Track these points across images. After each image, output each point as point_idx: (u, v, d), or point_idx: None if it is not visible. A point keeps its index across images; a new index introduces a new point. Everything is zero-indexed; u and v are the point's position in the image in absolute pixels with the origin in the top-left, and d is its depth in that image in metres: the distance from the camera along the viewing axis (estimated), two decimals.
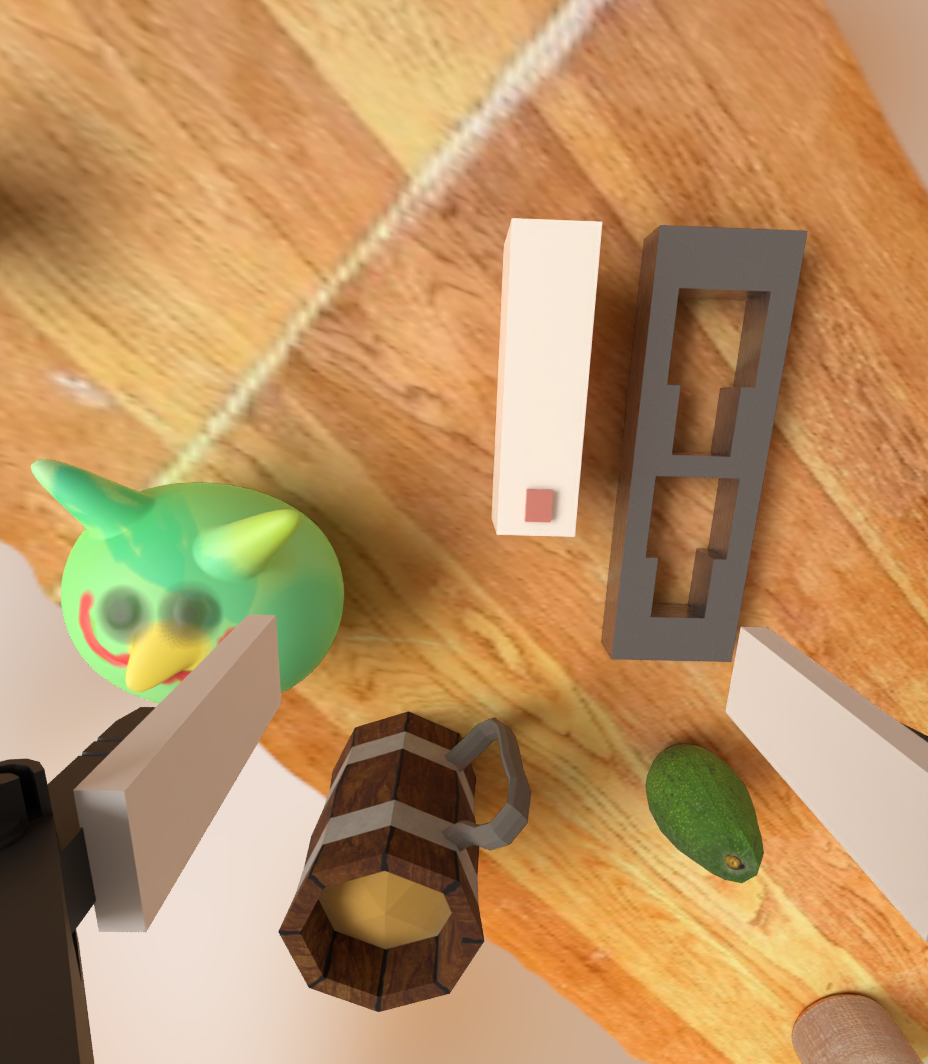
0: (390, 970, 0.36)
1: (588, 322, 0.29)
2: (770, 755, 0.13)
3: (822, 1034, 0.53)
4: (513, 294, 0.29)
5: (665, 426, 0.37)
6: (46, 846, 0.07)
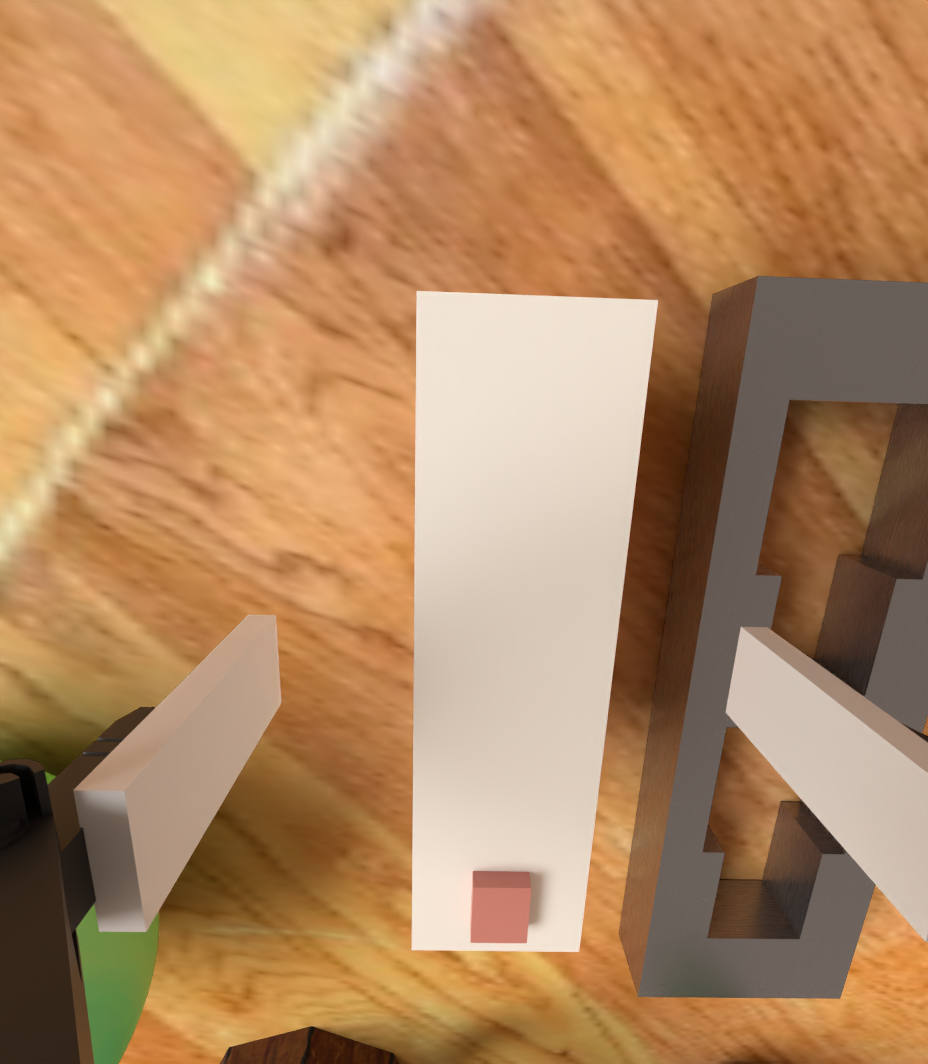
0: None
1: (616, 541, 0.12)
2: (770, 755, 0.13)
3: None
4: (428, 479, 0.11)
5: None
6: (46, 846, 0.07)
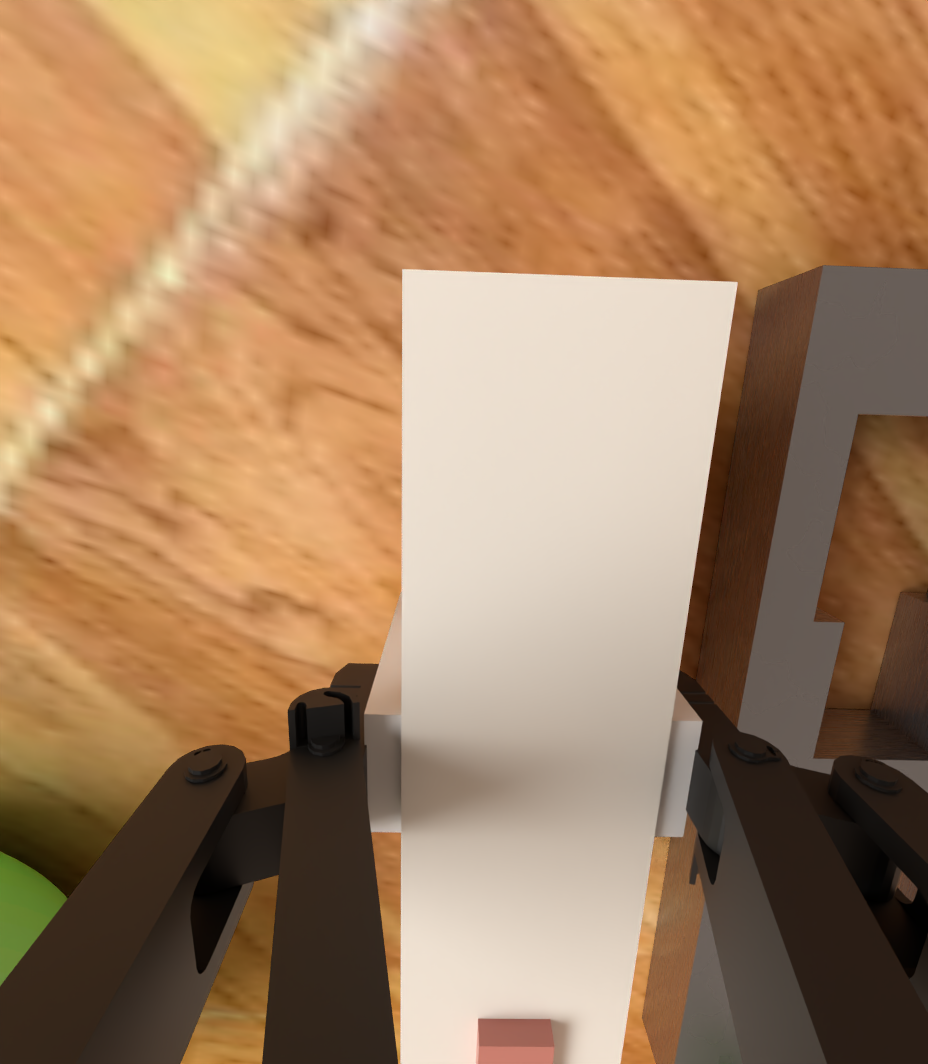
0: None
1: (672, 606, 0.09)
2: None
3: None
4: (419, 526, 0.08)
5: (803, 704, 0.17)
6: (356, 763, 0.09)
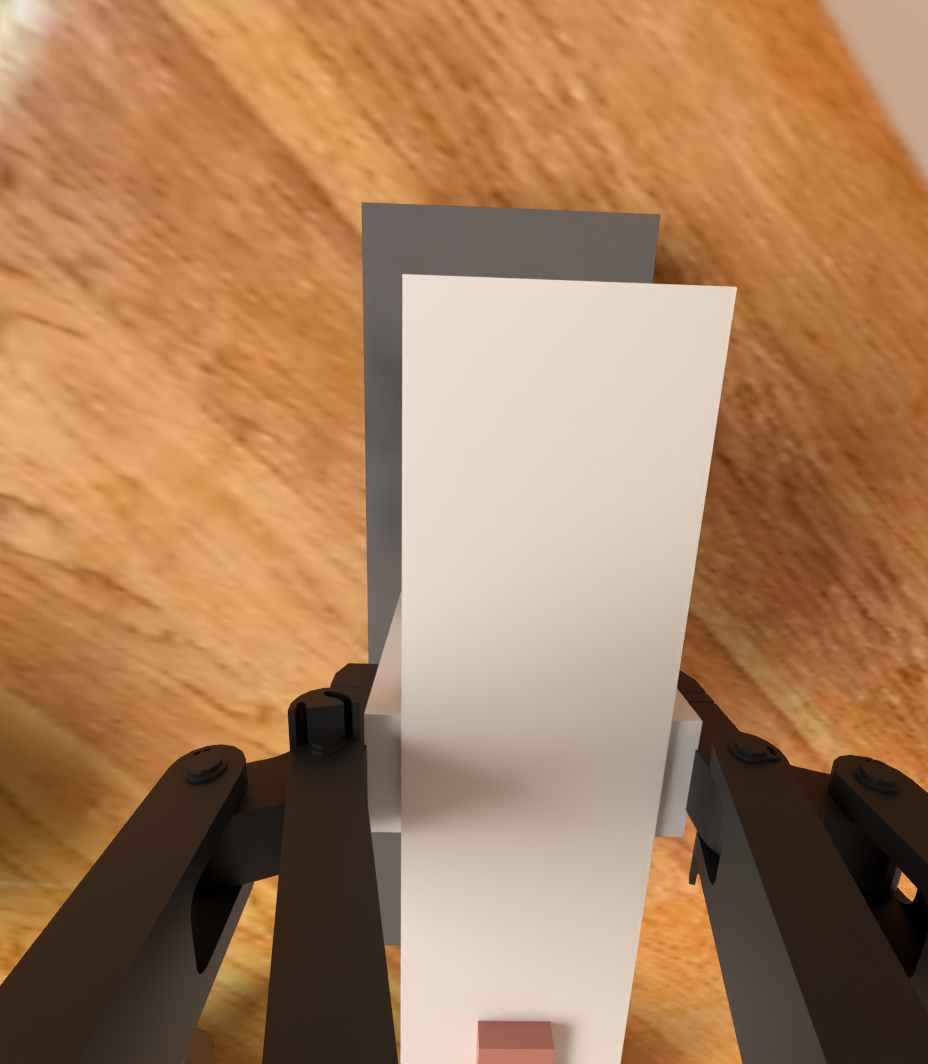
0: None
1: (671, 610, 0.09)
2: None
3: None
4: (419, 530, 0.08)
5: None
6: (356, 763, 0.09)
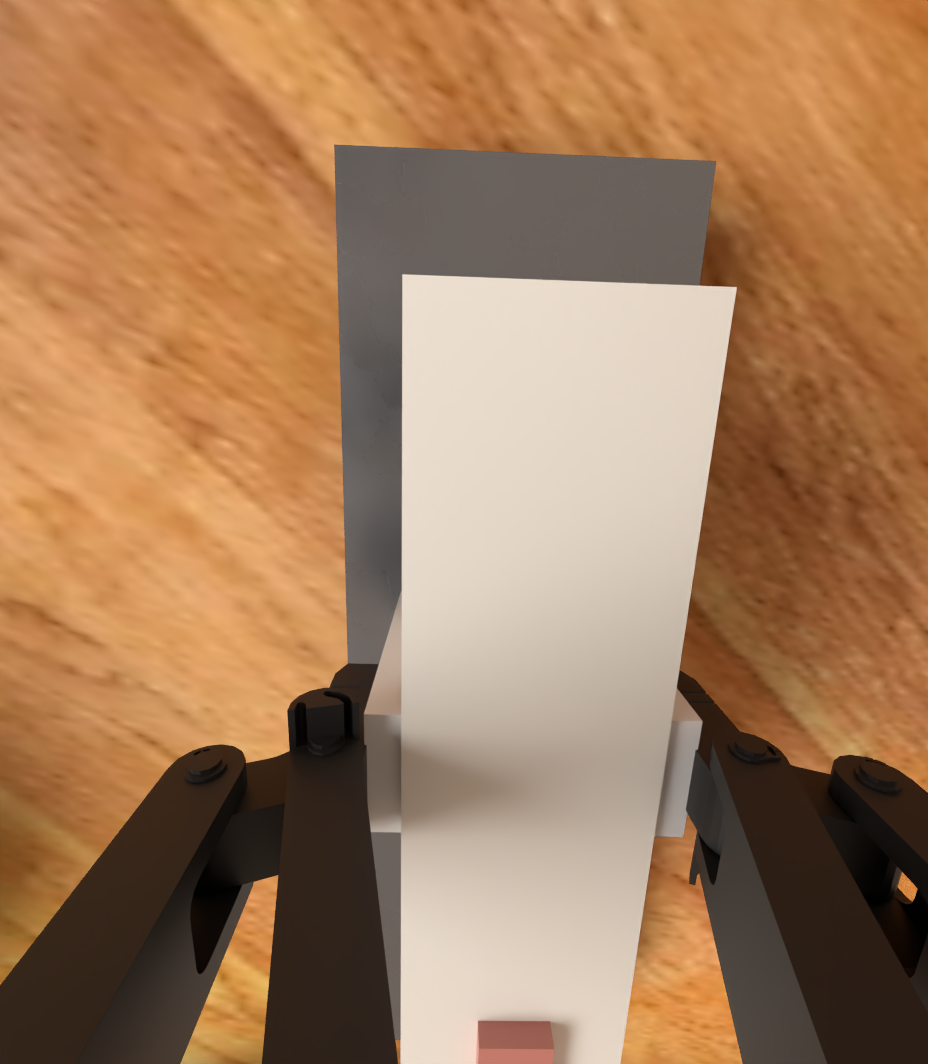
0: None
1: (671, 610, 0.09)
2: None
3: None
4: (419, 530, 0.08)
5: None
6: (356, 763, 0.09)
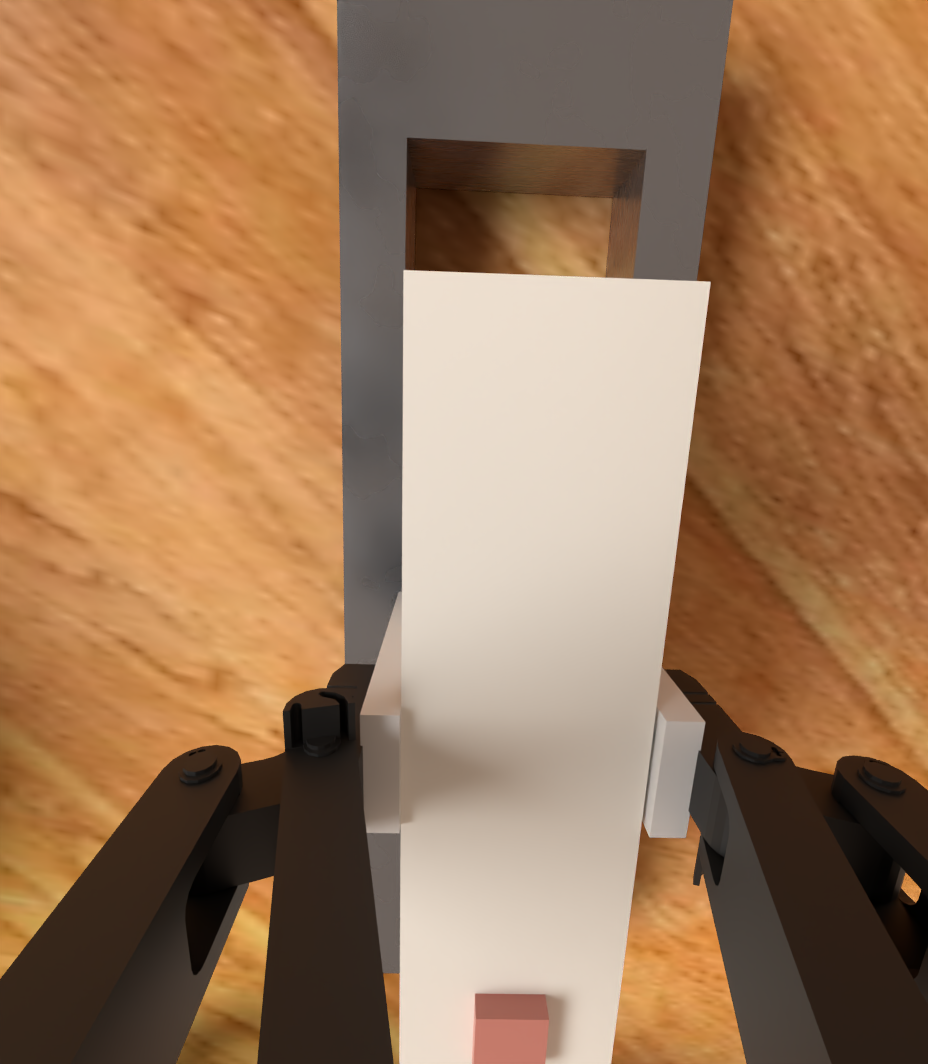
0: None
1: (656, 585, 0.09)
2: None
3: None
4: (418, 508, 0.09)
5: None
6: (352, 763, 0.08)
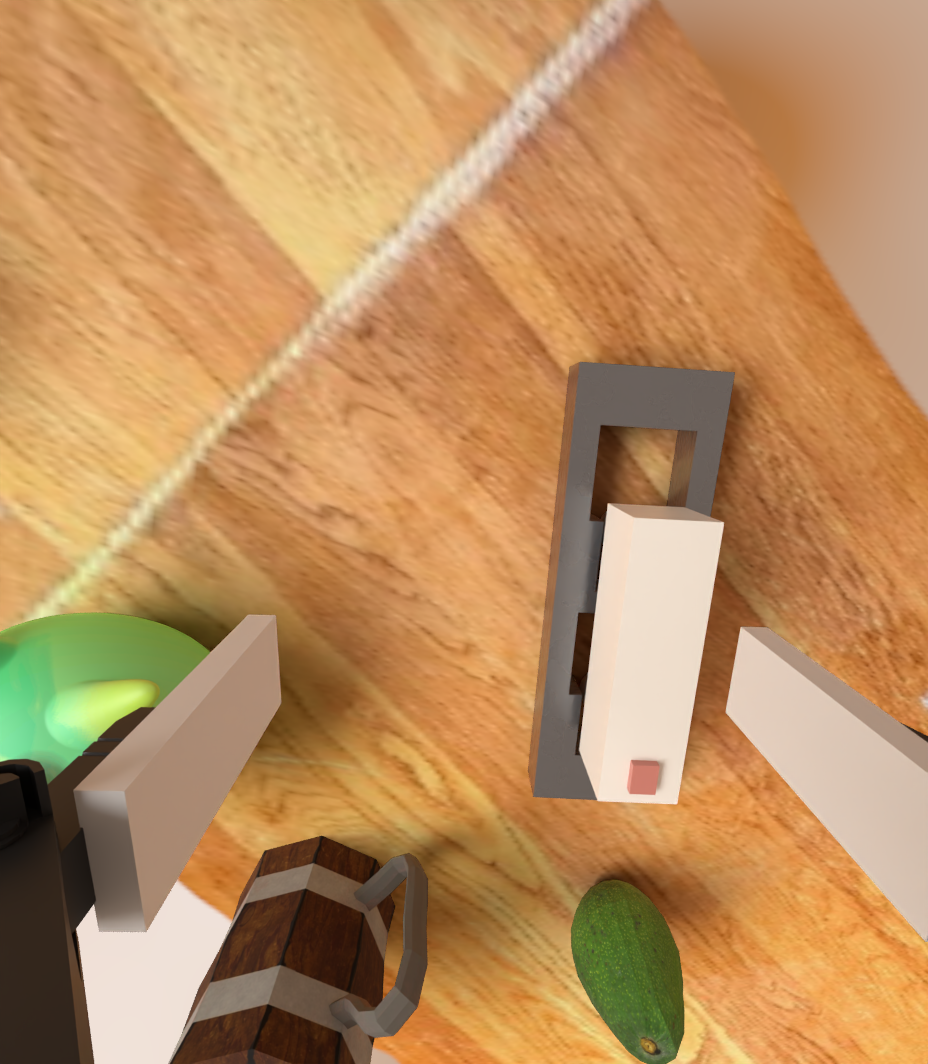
0: None
1: (704, 611, 0.29)
2: (770, 755, 0.13)
3: None
4: (630, 585, 0.29)
5: (588, 562, 0.35)
6: (46, 846, 0.07)
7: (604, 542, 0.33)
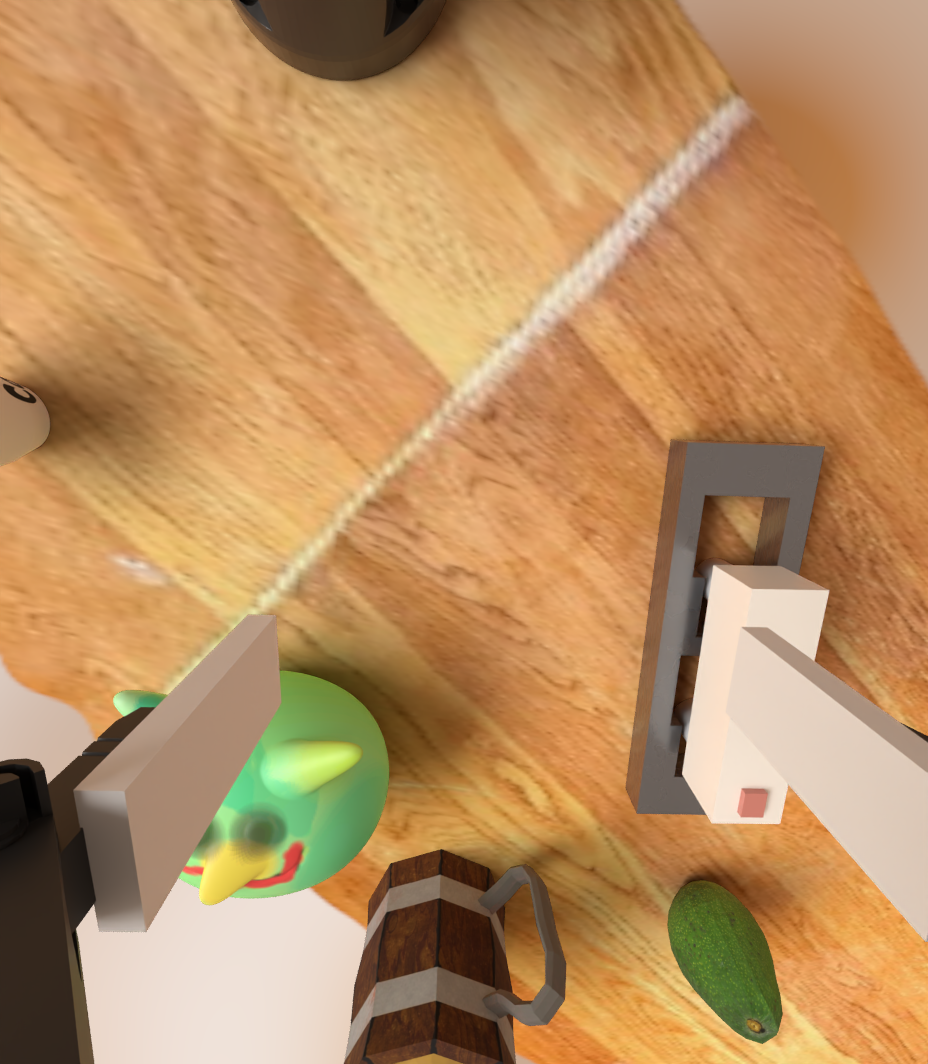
0: None
1: None
2: (770, 755, 0.13)
3: None
4: None
5: (690, 612, 0.40)
6: (46, 846, 0.07)
7: (710, 598, 0.38)
